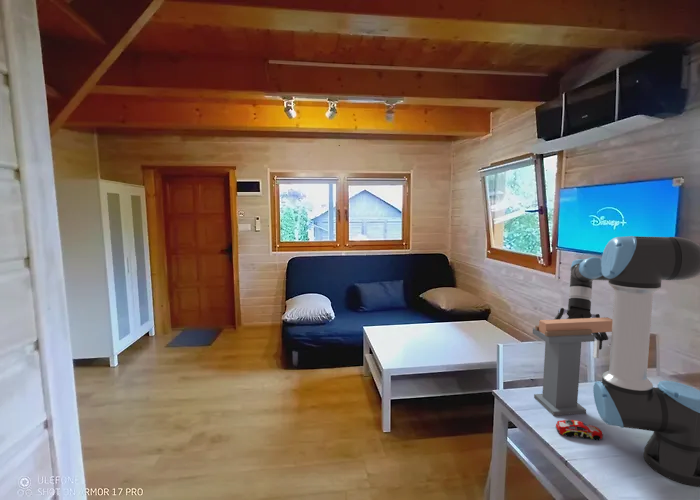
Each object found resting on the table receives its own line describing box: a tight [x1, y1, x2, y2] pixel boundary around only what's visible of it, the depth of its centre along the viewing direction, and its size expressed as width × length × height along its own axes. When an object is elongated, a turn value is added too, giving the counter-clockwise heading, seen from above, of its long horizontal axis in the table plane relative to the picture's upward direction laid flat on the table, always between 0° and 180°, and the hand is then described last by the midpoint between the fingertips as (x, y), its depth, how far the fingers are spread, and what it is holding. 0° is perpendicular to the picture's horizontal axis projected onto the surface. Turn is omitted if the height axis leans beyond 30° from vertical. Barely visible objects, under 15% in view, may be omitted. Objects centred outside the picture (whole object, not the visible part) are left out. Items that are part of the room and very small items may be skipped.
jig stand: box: [532, 324, 596, 417], centre depth 137 cm, size 16×12×30 cm
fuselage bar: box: [538, 316, 613, 334], centre depth 135 cm, size 26×4×4 cm, turn 95°
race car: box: [555, 419, 604, 442], centre depth 122 cm, size 13×5×4 cm, turn 74°
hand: (575, 354), depth 144 cm, fingers open, 13 cm apart
